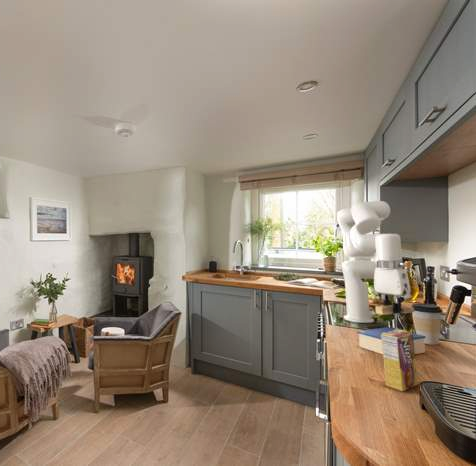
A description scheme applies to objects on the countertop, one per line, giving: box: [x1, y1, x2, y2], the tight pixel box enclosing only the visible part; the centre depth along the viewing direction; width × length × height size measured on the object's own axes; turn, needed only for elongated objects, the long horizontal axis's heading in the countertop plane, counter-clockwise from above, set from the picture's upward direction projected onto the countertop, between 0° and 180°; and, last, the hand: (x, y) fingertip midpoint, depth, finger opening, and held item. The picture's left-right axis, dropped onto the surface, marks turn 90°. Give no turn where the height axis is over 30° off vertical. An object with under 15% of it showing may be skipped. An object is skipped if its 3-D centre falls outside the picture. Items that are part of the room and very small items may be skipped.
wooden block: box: [375, 304, 414, 316], centre depth 113 cm, size 15×4×3 cm, turn 104°
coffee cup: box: [410, 303, 444, 346], centre depth 119 cm, size 9×9×15 cm
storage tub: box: [357, 326, 426, 355], centre depth 112 cm, size 17×13×6 cm
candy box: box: [381, 328, 419, 392], centre depth 85 cm, size 9×4×15 cm, turn 114°
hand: (392, 311), depth 113 cm, fingers closed on wooden block, 2 cm apart
